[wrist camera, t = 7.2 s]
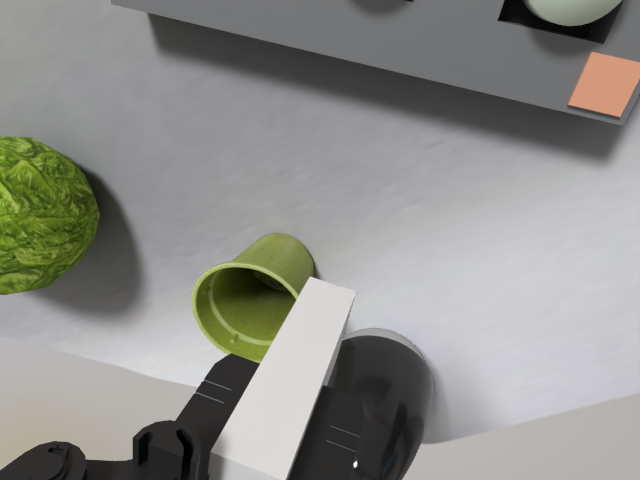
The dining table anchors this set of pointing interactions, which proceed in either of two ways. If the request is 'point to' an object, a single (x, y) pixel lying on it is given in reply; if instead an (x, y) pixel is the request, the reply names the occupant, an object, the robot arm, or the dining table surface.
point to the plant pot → (251, 295)
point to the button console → (447, 45)
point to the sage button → (570, 10)
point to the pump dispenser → (385, 400)
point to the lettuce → (41, 215)
